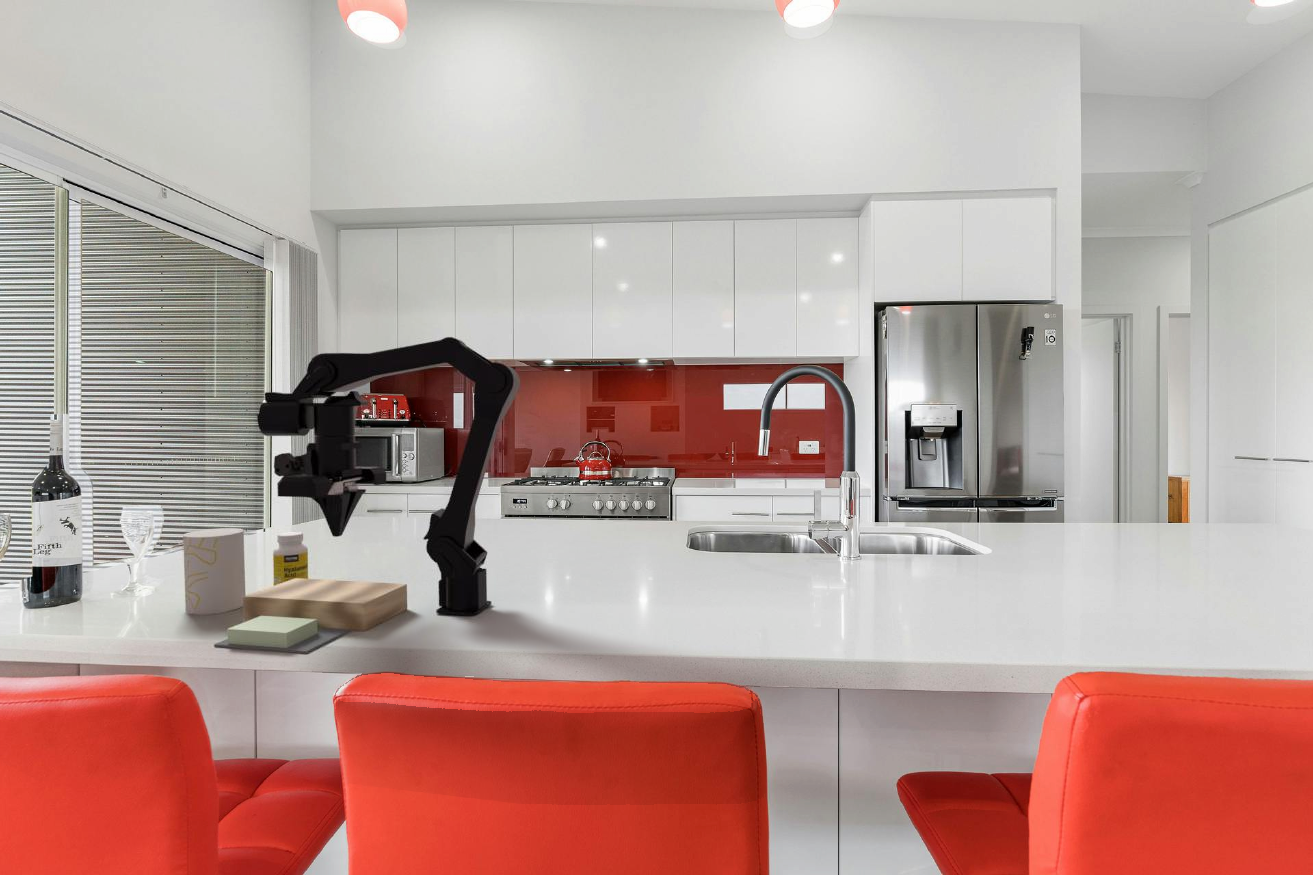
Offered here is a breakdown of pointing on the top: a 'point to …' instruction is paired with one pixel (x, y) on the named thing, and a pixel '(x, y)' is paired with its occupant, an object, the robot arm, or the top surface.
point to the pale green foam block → (272, 631)
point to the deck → (329, 602)
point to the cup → (214, 570)
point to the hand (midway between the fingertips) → (337, 536)
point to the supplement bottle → (290, 558)
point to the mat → (300, 647)
